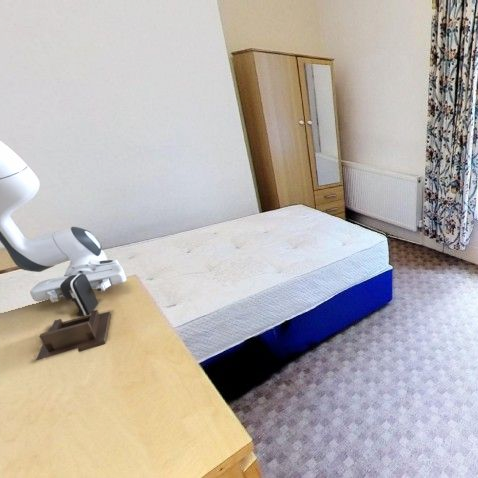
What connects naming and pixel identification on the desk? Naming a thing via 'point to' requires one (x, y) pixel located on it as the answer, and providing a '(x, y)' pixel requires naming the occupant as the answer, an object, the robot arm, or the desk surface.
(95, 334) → the dock
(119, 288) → the desk surface
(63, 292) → the battery charger
